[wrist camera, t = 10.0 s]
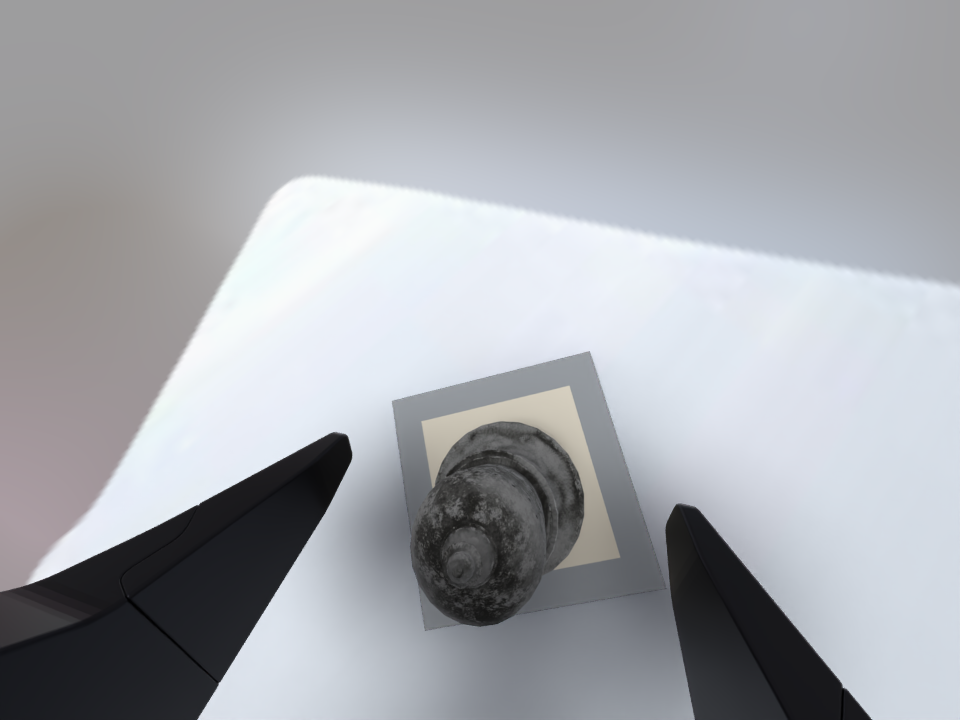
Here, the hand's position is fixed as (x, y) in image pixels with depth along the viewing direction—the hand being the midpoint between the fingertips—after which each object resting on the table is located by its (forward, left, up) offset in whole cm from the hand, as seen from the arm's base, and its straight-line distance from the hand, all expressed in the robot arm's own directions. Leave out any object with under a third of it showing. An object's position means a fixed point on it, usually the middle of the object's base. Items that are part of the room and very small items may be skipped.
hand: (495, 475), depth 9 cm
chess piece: (-1, 0, -8) cm, 8 cm away
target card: (-1, 0, -9) cm, 9 cm away
